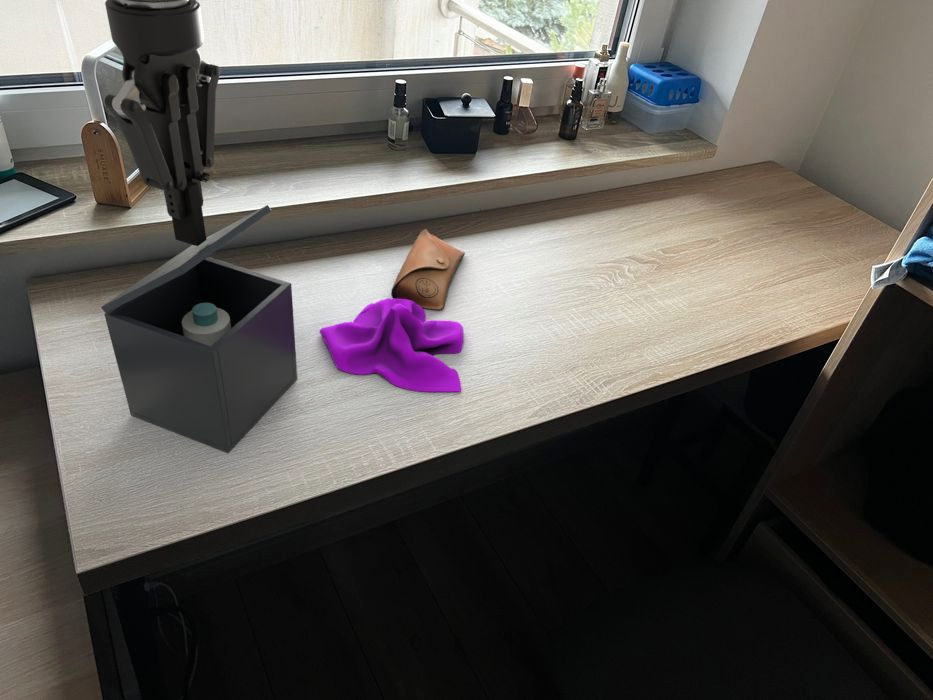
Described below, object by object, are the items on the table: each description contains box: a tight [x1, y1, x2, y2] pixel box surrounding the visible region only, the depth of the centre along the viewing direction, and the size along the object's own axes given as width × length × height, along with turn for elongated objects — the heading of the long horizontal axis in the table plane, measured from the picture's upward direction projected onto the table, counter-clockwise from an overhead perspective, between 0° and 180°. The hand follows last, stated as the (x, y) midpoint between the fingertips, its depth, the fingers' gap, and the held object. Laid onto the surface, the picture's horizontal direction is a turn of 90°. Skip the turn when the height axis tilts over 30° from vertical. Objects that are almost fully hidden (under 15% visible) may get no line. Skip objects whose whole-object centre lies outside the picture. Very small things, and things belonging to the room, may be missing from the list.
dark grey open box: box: [103, 256, 298, 454], centre depth 85 cm, size 14×15×15 cm
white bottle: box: [182, 303, 231, 346], centre depth 85 cm, size 5×5×12 cm
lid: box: [100, 204, 273, 314], centre depth 77 cm, size 14×15×1 cm
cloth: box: [319, 298, 464, 393], centre depth 99 cm, size 22×19×6 cm
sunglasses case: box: [390, 229, 466, 311], centre depth 114 cm, size 18×7×7 cm
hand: (191, 239), depth 76 cm, fingers closed
